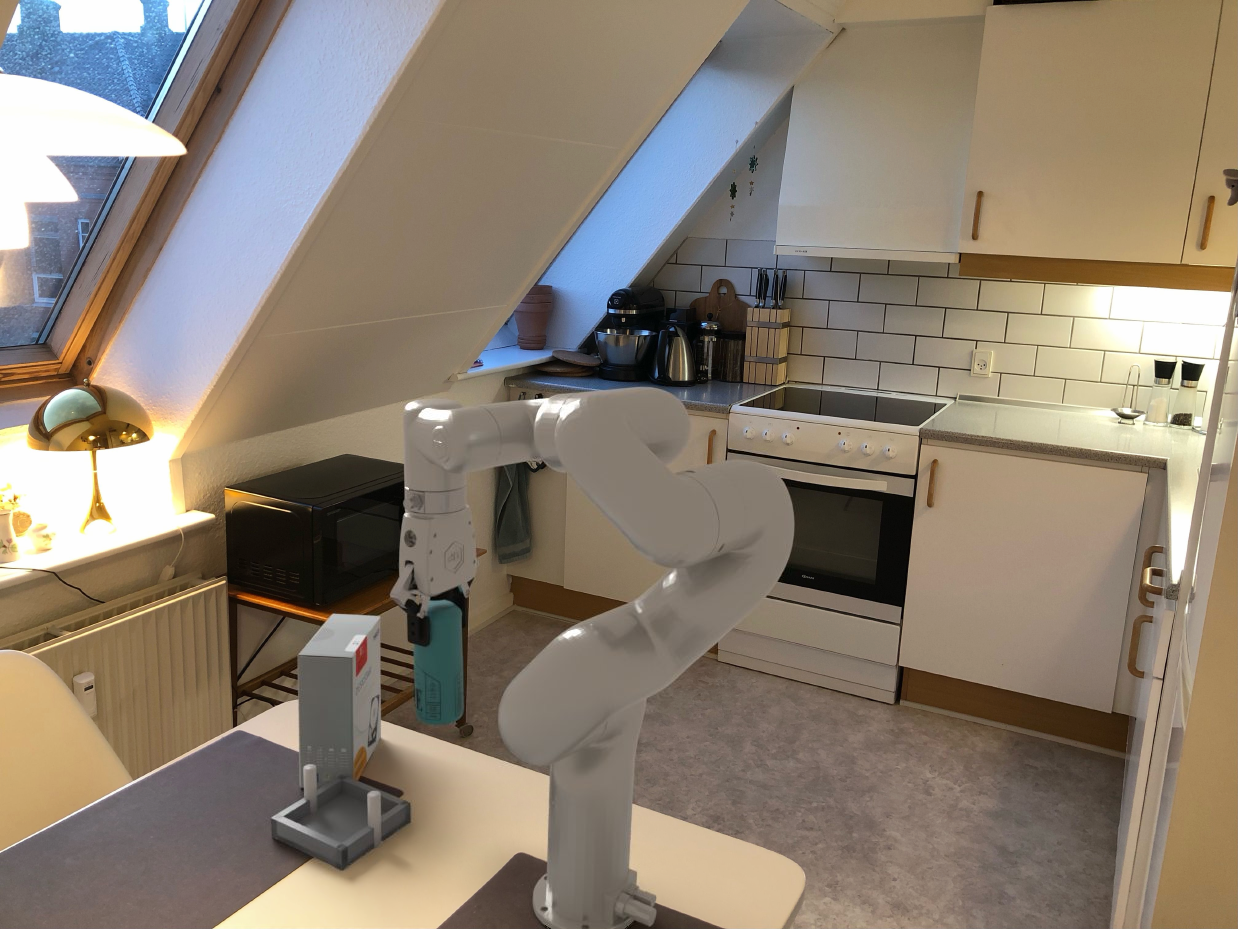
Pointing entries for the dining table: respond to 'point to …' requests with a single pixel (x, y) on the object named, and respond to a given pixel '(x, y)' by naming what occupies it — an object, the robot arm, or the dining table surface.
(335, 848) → the tray
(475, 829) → the dining table surface
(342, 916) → the dining table surface
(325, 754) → the hard drive box
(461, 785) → the dining table surface
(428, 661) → the beverage bottle
